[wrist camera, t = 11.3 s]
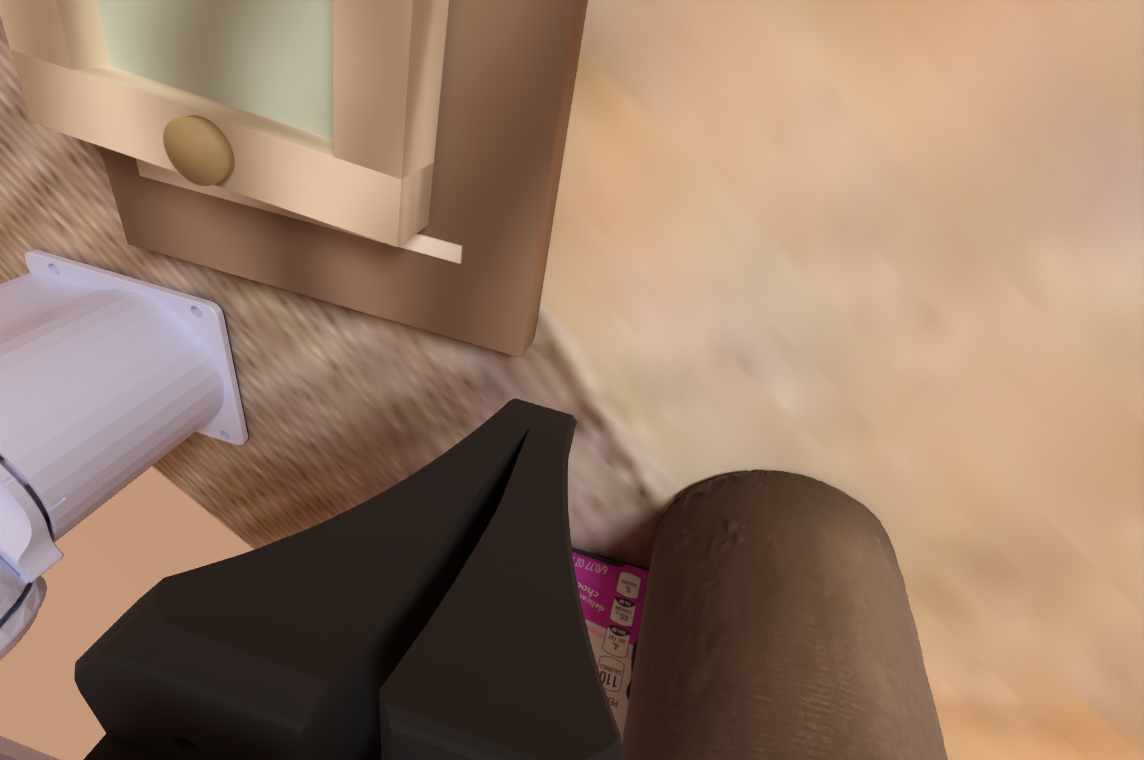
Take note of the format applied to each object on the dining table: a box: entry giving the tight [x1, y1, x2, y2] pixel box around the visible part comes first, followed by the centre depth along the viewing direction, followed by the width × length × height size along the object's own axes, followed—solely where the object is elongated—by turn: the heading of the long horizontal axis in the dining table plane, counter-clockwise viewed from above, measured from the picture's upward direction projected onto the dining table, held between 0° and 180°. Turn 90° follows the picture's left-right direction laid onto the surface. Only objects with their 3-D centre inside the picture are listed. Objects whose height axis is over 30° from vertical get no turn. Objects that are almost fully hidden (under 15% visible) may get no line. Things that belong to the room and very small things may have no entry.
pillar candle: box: [622, 470, 948, 760], centre depth 19 cm, size 10×10×15 cm
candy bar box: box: [572, 548, 649, 740], centre depth 22 cm, size 11×5×16 cm, turn 82°
